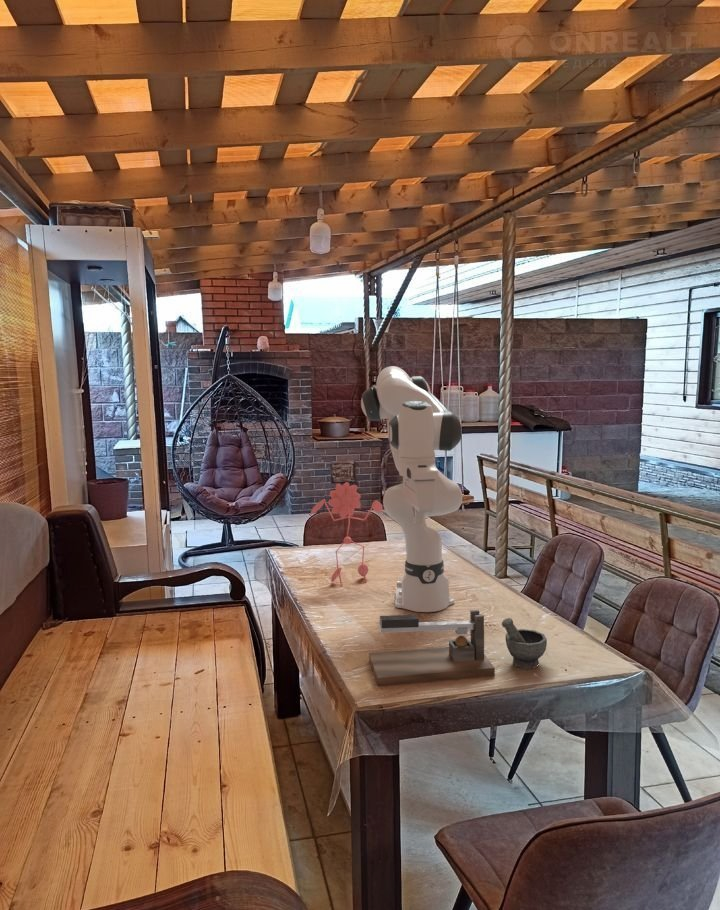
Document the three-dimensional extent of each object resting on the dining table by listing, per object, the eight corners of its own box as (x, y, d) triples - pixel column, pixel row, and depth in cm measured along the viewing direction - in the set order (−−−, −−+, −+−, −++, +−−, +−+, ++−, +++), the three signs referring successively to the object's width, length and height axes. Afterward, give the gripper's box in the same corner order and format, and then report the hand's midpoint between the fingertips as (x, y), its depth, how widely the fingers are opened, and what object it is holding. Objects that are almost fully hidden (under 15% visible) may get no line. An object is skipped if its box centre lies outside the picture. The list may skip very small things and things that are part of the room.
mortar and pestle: (534, 653, 166) (534, 607, 165) (553, 668, 157) (554, 620, 156) (493, 659, 164) (493, 612, 162) (511, 675, 155) (511, 626, 153)
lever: (379, 632, 158) (379, 615, 158) (475, 629, 162) (475, 612, 161) (381, 637, 156) (381, 620, 155) (478, 634, 159) (479, 617, 158)
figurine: (389, 579, 231) (385, 481, 227) (319, 590, 221) (315, 488, 218) (372, 569, 245) (368, 477, 242) (306, 579, 235) (301, 483, 232)
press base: (369, 660, 165) (367, 610, 163) (476, 651, 168) (476, 603, 167) (377, 686, 151) (376, 632, 149) (494, 675, 154) (494, 622, 153)
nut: (453, 645, 161) (453, 634, 161) (465, 644, 162) (465, 633, 161) (457, 650, 158) (457, 638, 158) (469, 649, 159) (469, 637, 158)
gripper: (396, 463, 170) (397, 515, 171) (413, 474, 149) (414, 533, 151) (420, 462, 170) (421, 514, 172) (440, 473, 150) (440, 531, 152)
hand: (418, 523), depth 161 cm, fingers closed
